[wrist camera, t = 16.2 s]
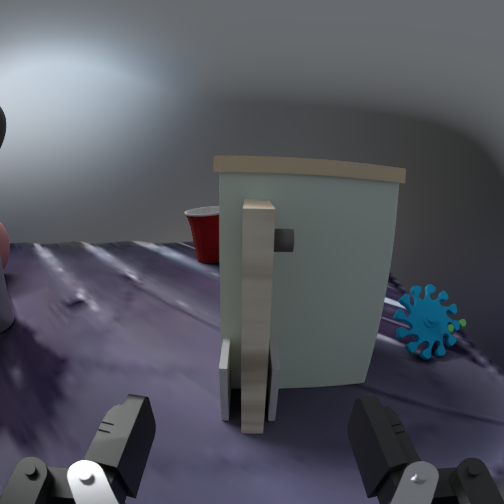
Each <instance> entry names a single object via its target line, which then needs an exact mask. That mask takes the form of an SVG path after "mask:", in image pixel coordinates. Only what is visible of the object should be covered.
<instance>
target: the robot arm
mask: <svg viewBox="0 0 504 504" xmlns="http://www.w3.org/2000/svg"><path fill="white" fill-rule="evenodd" d="M5 133H6V118H5V115H4V112H3V110H2V108H1V107H0V148H1V145H2V143H3V140H4V137H5ZM13 321H14V315H13V311H12V306H11V303H10V300H9V296H8V291H7V287H6V282H5V278H4V273H3V268H2V262H1V257H0V333H1V332H3V331H4V330H6V329H7V328H9V327H10V326H11V325H12V323H13ZM155 431H156V424H155V419H154V416H153V412H152V408H151V405H150V401H149V398H148V397H145V396H138V395H132V394H129V395H128V396H127V398H126V400H125V402H124V404H123V406H122V405H117V404H116V405H115V406H114V407H112V408H111V409H110V410H109V411H108V412H107V413H106V415H105V417H104V419H103V421H102V423H101V425H100V427H99V431H97V433H96V435H95V437H94V439H93V441H92V443H91V445H90V447H89V449H88V451H87V453H86V455H85V457H84V459H83V460H82V461H79V462H76V463H74V464H73V465H72V466H71V467H70V468H58V467H47V466H46V465H45V464H44V462H43V461H42V460H40V459H38V458H36V457H26V458H24V459H22V460H20V461H19V462H18V464H17V466H16V468H15V469H14V471H13V473H12V475H11V477H10V479H9V481H8V483H7V485H6V487H5V489H4V491H3V494H2V496H1V498H0V504H126V503H125V499H126V496H128V497H133V498H136V496H137V492H138V489H139V485H140V482H141V479H142V475H143V472H144V469H145V465H146V462H147V459H148V455H149V452H150V449H151V446H152V443H153V439H154V436H155ZM348 437H349V440H350V443H351V446H352V449H353V452H354V455H355V458H356V462H357V465H358V468H359V471H360V474H361V477H362V481H363V484H364V487H365V490H366V494H367V497H368V498H371V497H375V496H378V500H379V504H504V501H503V499H502V497H501V495H500V493H499V491H498V489H497V487H496V485H495V483H494V481H493V479H492V477H491V475H490V473H489V471H488V469H487V467H486V466H485V464H484V463H483V462H482V461H481V460H479V459H476V458H467V459H465V460H463V461H462V462H461V463H460V464H459V465H458V467H457V468H444V469H436V468H435V467H434V466H433V465H432V464H430V463H428V462H424V461H421V460H420V459H419V457H418V455H417V453H416V451H415V449H414V447H413V445H412V443H411V441H410V439H409V437H408V435H407V433H405V429H404V427H403V425H401V421H400V420H399V418H398V416H397V414H396V413H395V412H394V411H393V410H391V409H390V408H389V407H388V406H387V407H382V406H381V404H380V402H379V400H378V398H377V397H376V396H372V397H365V398H358V399H356V401H355V404H354V407H353V411H352V414H351V417H350V419H349V422H348Z"/></svg>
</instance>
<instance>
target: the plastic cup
mask: <svg viewBox="0 0 504 504" xmlns="http://www.w3.org/2000/svg"><path fill="white" fill-rule="evenodd" d="M185 215H187V218H188V221H189V223H190V226H191V231H192V236H193V241H194V246H195V249H196V255H197V259H198V261H199V262H201V263H208V264H210V263H218V262H219V206H214V207H213V206H212V207H202V208H196V209H191V210H188V211H186V212H185Z"/></svg>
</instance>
